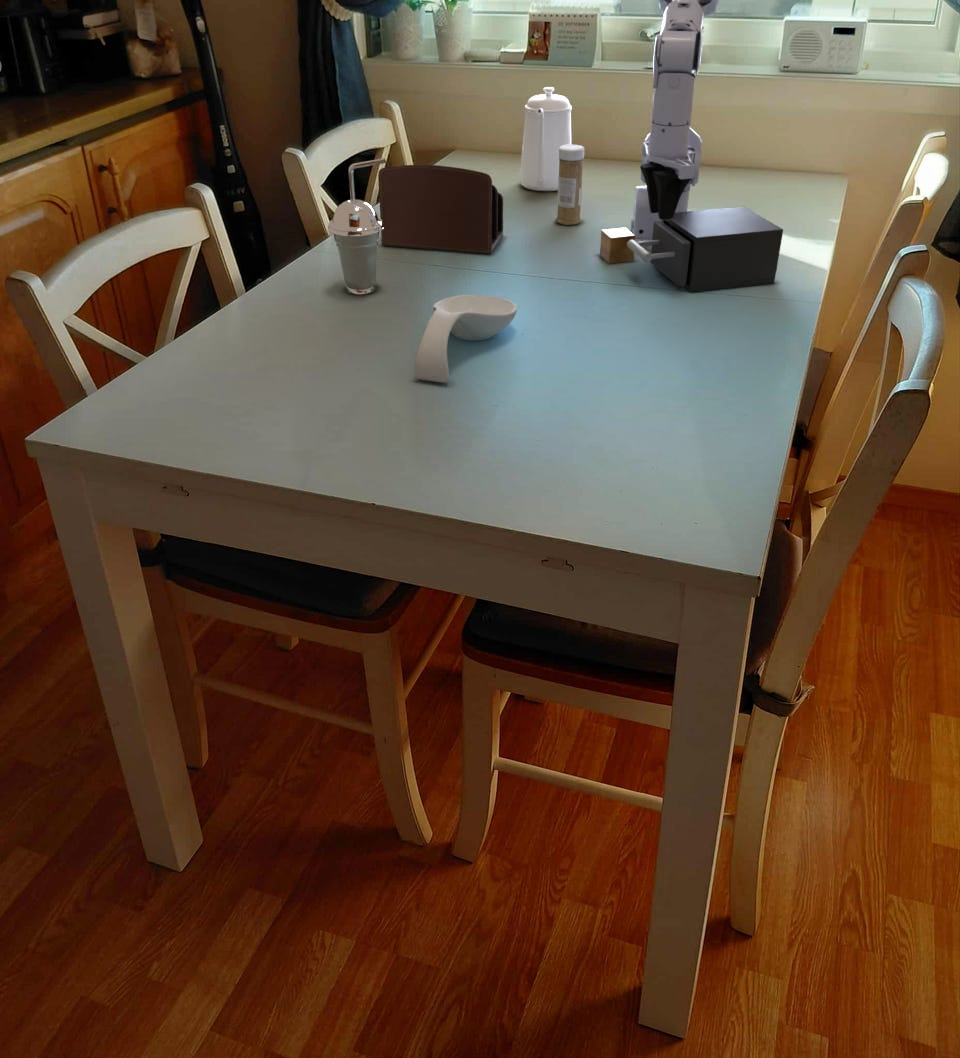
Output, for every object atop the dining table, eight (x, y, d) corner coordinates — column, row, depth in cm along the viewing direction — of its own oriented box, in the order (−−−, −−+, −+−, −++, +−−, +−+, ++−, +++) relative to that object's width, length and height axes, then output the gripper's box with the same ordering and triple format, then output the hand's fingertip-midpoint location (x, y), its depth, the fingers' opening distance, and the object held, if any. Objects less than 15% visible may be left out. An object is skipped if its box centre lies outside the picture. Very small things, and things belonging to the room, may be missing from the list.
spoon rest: (450, 312, 146) (449, 265, 142) (526, 321, 143) (527, 273, 139) (390, 378, 128) (387, 326, 124) (476, 390, 125) (475, 337, 121)
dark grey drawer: (647, 290, 151) (651, 246, 147) (619, 265, 160) (622, 223, 156) (757, 278, 155) (764, 235, 151) (724, 255, 164) (730, 214, 160)
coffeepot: (508, 201, 193) (510, 99, 182) (529, 169, 213) (531, 75, 202) (563, 204, 191) (567, 101, 180) (578, 171, 211) (583, 77, 201)
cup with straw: (355, 276, 159) (345, 147, 148) (401, 286, 155) (394, 155, 144) (322, 292, 153) (309, 160, 142) (369, 303, 149) (359, 168, 138)
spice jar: (585, 222, 182) (589, 146, 174) (569, 227, 179) (572, 151, 172) (567, 216, 185) (570, 142, 177) (550, 222, 182) (553, 146, 174)
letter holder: (491, 255, 167) (491, 170, 159) (380, 246, 171) (375, 163, 163) (503, 237, 175) (504, 155, 167) (398, 229, 179) (393, 148, 171)
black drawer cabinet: (689, 292, 152) (696, 237, 148) (657, 265, 162) (662, 213, 158) (774, 283, 155) (783, 229, 151) (737, 257, 166) (744, 206, 161)
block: (608, 263, 163) (610, 237, 161) (599, 255, 167) (601, 229, 164) (633, 261, 164) (635, 235, 162) (623, 253, 168) (625, 227, 165)
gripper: (718, 131, 138) (706, 227, 146) (675, 110, 150) (666, 200, 157) (672, 134, 137) (662, 231, 144) (632, 112, 148) (625, 203, 156)
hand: (661, 215), depth 151 cm, fingers open, 3 cm apart
